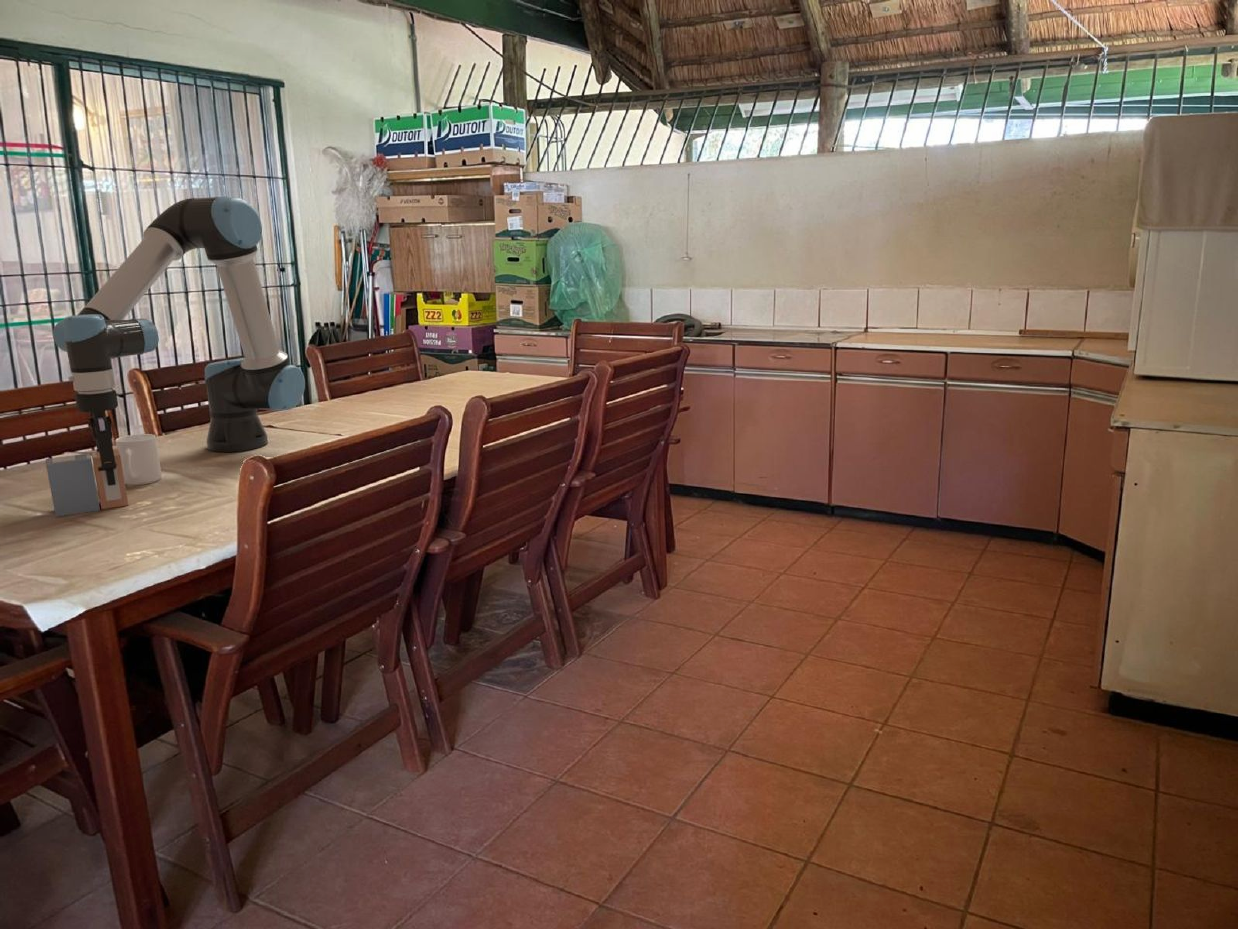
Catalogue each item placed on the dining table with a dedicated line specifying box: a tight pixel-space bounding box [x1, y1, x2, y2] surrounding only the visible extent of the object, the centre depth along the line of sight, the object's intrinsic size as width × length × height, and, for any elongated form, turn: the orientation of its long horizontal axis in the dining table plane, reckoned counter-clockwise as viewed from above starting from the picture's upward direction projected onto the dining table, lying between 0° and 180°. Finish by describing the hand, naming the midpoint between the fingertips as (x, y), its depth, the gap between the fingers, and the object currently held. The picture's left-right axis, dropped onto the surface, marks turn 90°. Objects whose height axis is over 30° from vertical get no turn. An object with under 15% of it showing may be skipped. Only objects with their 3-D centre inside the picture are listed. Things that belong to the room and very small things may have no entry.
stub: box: [91, 448, 129, 510], centre depth 195 cm, size 5×6×11 cm
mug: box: [114, 433, 162, 486], centre depth 212 cm, size 12×8×10 cm
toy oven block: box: [45, 452, 101, 518], centre depth 192 cm, size 8×6×11 cm
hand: (112, 493), depth 196 cm, fingers open, 11 cm apart
